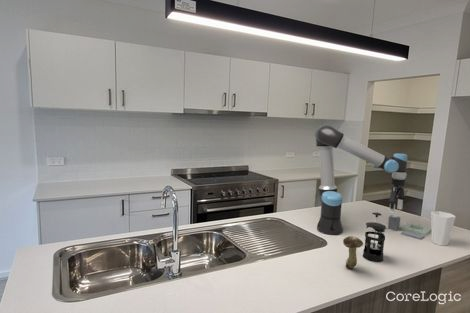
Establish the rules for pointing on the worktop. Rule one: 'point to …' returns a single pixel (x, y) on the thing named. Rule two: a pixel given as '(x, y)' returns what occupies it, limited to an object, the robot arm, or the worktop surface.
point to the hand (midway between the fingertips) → (395, 211)
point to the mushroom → (352, 250)
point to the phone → (412, 235)
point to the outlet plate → (423, 230)
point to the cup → (441, 227)
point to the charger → (394, 222)
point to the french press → (372, 246)
